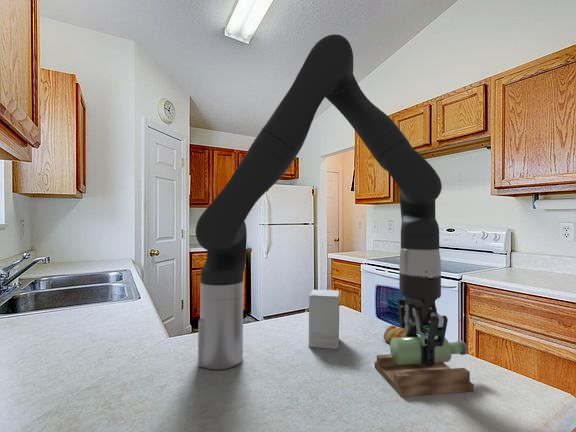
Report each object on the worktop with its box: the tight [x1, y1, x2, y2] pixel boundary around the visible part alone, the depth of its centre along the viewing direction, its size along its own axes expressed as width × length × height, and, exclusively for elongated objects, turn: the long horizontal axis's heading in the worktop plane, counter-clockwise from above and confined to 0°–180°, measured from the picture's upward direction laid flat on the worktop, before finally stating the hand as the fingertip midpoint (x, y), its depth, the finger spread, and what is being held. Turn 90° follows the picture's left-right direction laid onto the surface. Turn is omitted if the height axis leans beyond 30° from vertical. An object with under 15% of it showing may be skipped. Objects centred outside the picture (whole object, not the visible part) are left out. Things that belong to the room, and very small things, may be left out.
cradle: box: [374, 353, 475, 398], centre depth 60 cm, size 14×11×3 cm
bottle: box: [389, 335, 468, 365], centre depth 61 cm, size 14×5×5 cm, turn 98°
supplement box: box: [308, 289, 340, 350], centre depth 78 cm, size 7×7×13 cm
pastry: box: [383, 325, 407, 344], centre depth 77 cm, size 9×7×4 cm
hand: (419, 358), depth 60 cm, fingers closed on bottle, 4 cm apart
